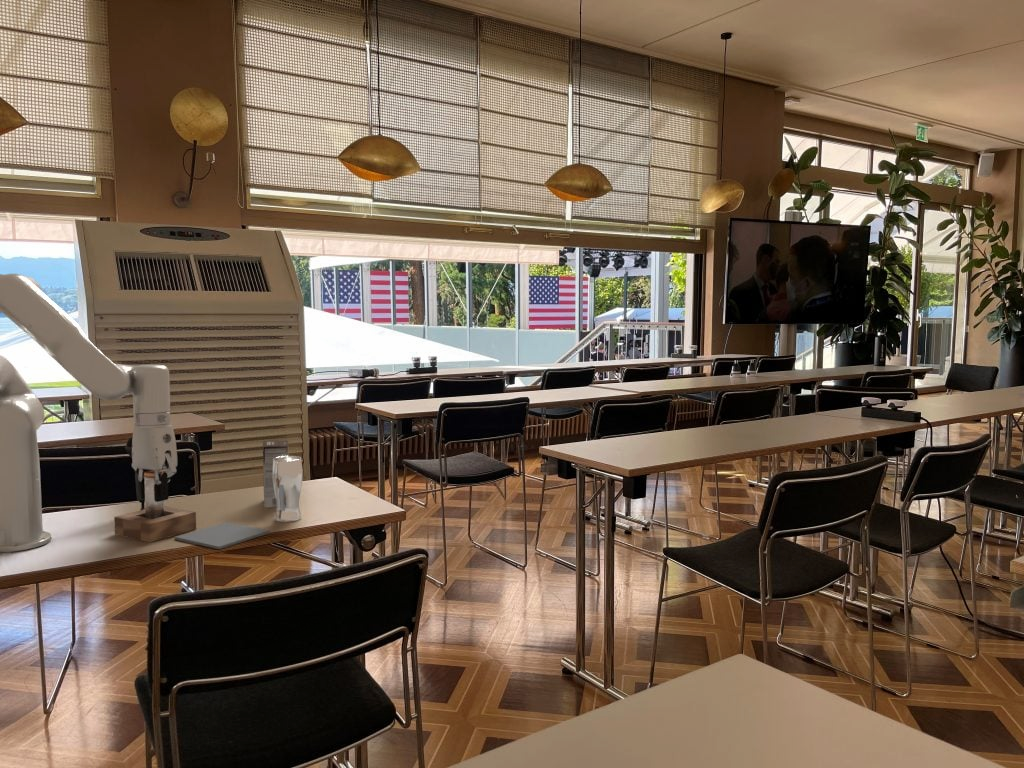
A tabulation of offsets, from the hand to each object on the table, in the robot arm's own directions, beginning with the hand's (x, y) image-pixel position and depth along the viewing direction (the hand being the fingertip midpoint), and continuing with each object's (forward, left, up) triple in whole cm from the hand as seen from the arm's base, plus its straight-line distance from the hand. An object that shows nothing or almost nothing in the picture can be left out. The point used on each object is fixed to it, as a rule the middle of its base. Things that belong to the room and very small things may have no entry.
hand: (154, 498), depth 171 cm
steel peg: (0, 0, -6) cm, 6 cm away
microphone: (+9, +17, -8) cm, 21 cm away
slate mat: (+5, -16, -8) cm, 19 cm away
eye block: (0, 0, -8) cm, 8 cm away
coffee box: (+33, -4, -8) cm, 34 cm away
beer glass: (+23, -18, -8) cm, 30 cm away
